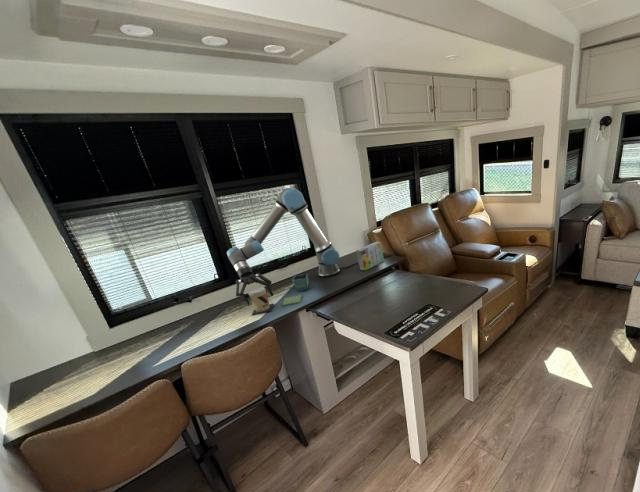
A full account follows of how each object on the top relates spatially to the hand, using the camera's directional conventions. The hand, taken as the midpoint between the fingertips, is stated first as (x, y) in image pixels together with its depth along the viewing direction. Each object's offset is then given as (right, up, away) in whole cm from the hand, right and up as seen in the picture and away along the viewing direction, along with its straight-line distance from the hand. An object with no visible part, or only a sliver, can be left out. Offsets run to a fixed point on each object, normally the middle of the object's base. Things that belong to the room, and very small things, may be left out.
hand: (260, 299), depth 179 cm
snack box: (+59, +22, +52) cm, 82 cm away
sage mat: (+15, -1, +10) cm, 18 cm away
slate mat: (0, -6, +4) cm, 7 cm away
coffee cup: (0, -6, +3) cm, 7 cm away
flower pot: (+17, +5, +25) cm, 31 cm away
